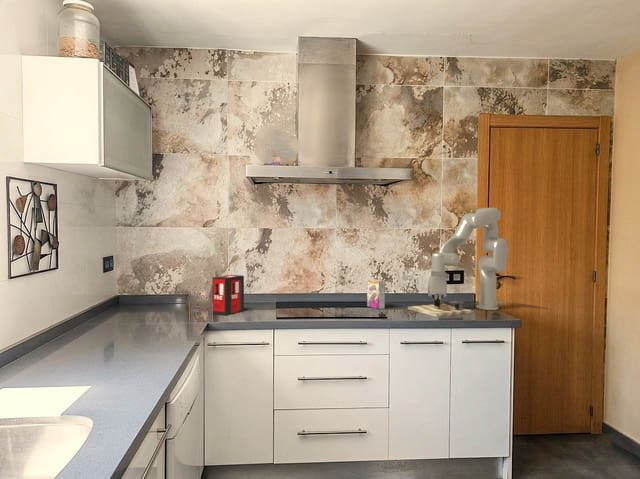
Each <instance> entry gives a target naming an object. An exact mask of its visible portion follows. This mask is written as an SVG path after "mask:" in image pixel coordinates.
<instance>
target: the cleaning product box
mask: <svg viewBox="0 0 640 479" xmlns="http://www.w3.org/2000/svg"><path fill="white" fill-rule="evenodd" d="M211 278H212V279H211V280H212V290H211V291H212V293H211V294H212V299H211V300H212V301H211V302H213V314H212V315H215V316H223V317H227V316H231V315H234V314H238V313H241V312H244V311H245V305H244V304H245V276H244V275H242V274H240V275H237V274H227V275H220V276H219V275H218V276H213V277H211Z"/></svg>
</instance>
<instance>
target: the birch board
mask: <svg viewBox="0 0 640 479" xmlns="http://www.w3.org/2000/svg"><path fill="white" fill-rule="evenodd" d="M447 305H448V306H449V308H448V310H442V309H440V308H439V307H436V306H435V305H434V304H426V305H425V304H423V305H413V306H407V310H409V311H413V312H416V313H417V312H418V313H422V314H424V315H425V314H426V315H429V316H433V317H443V316H454V315H465V314H473V309H467V308H465V307H463V310H457V309H455V305H454V306H453V305H450V304H447Z"/></svg>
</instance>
